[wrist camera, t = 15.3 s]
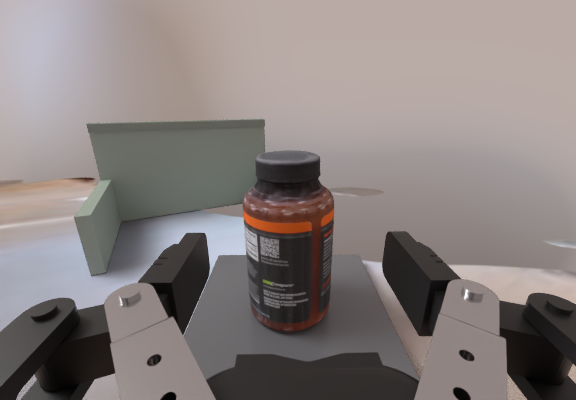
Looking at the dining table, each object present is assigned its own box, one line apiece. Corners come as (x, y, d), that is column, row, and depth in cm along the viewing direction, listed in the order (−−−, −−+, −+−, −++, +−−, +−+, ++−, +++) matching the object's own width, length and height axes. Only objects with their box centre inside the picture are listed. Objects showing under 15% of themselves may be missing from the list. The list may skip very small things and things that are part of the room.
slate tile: (425, 411, 14) (428, 398, 14) (158, 414, 14) (155, 401, 14) (357, 263, 27) (358, 254, 27) (219, 264, 27) (219, 255, 27)
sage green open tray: (302, 231, 34) (304, 125, 30) (91, 275, 25) (49, 134, 21) (263, 197, 46) (261, 118, 42) (112, 219, 38) (89, 123, 33)
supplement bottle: (318, 277, 23) (324, 146, 20) (340, 331, 18) (353, 163, 14) (249, 283, 23) (241, 148, 19) (249, 342, 17) (237, 167, 13)
